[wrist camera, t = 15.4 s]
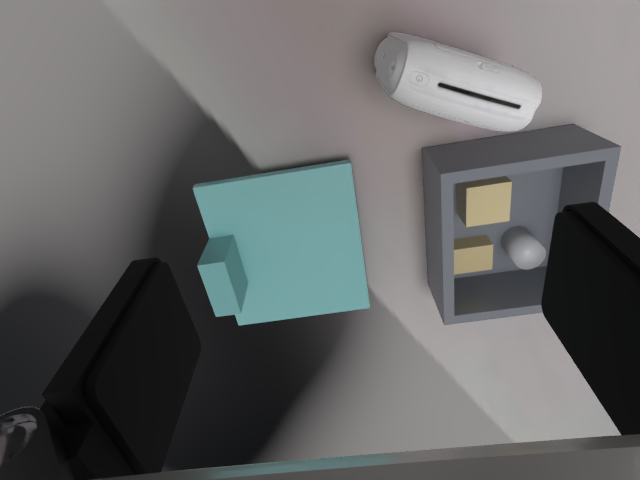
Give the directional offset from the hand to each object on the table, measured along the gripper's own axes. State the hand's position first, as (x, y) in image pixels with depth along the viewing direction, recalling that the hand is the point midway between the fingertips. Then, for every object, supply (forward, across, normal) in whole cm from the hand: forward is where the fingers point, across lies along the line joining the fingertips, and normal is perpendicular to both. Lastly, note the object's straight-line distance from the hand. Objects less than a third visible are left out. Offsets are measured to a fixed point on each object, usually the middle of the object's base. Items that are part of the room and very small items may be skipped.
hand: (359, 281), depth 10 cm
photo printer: (+31, -8, +2) cm, 32 cm away
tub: (+30, -14, +16) cm, 37 cm away
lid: (+30, +7, +17) cm, 35 cm away
